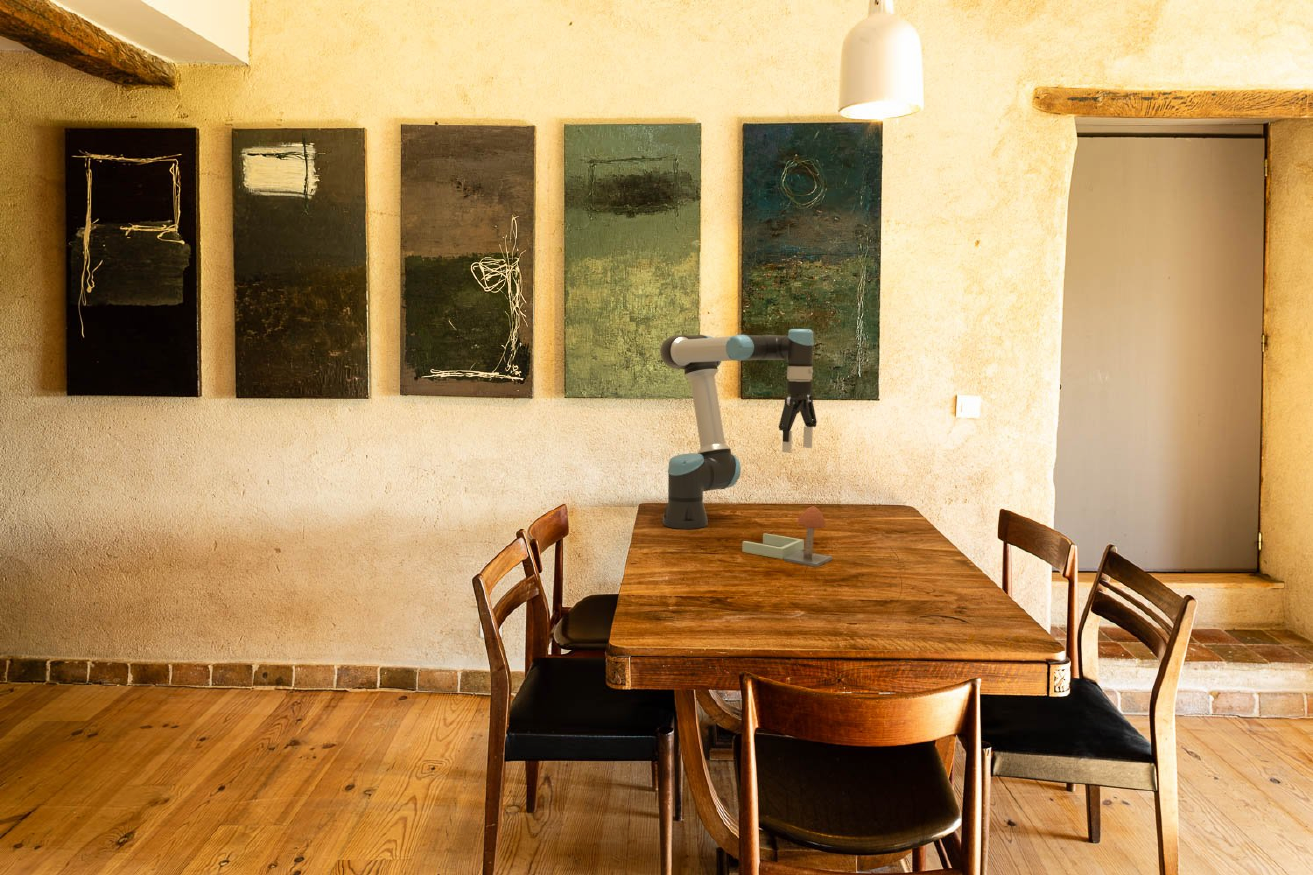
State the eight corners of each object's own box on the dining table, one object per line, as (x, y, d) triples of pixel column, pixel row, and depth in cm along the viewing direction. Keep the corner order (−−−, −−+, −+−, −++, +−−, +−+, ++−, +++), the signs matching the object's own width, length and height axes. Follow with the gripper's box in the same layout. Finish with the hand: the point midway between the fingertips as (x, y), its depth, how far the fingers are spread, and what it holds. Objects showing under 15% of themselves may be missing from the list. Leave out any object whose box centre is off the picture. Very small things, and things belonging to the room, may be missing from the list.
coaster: (784, 560, 233) (784, 558, 233) (800, 553, 241) (800, 550, 241) (816, 566, 227) (816, 564, 227) (832, 559, 235) (832, 556, 235)
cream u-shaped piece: (742, 551, 242) (742, 541, 242) (764, 542, 253) (765, 533, 253) (782, 559, 235) (782, 548, 234) (803, 549, 245) (804, 539, 245)
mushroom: (818, 563, 229) (822, 510, 226) (790, 557, 232) (794, 506, 230) (826, 556, 236) (830, 505, 233) (799, 551, 239) (803, 500, 237)
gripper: (791, 382, 236) (789, 455, 239) (829, 379, 256) (826, 446, 259) (768, 381, 241) (766, 453, 244) (807, 378, 261) (805, 444, 263)
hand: (797, 450), depth 251 cm, fingers open, 13 cm apart
